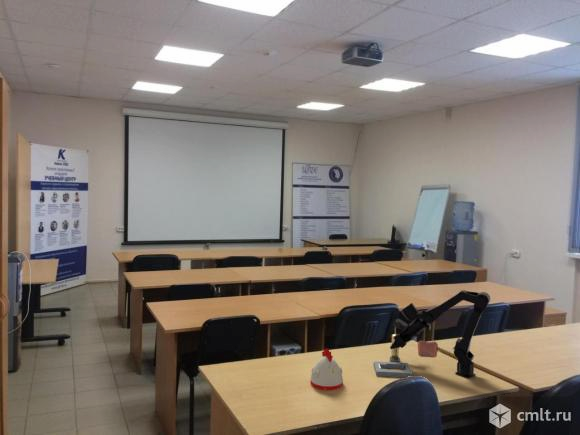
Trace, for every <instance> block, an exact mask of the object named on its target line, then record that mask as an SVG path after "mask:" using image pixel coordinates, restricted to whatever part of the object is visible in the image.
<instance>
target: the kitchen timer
mask: <svg viewBox="0 0 580 435" xmlns="http://www.w3.org/2000/svg"><path fill="white" fill-rule="evenodd" d="M321 355H322V357H320V358H319V359H318V360H317V361H316V363H315V364H314V366H313V367H311V375H310V385H311V386H312V387H313V388H314V389H317V388H318V389H317V390H321V391H336V390H338V389H341V388H342V387H343V386H344V385H343V384H344V379H343V368H342V367H341V366H340V365H339V364H338V362H337V360H335V358H333V357H334V355H332V351H330V349H328V348H325V349H324V350H323V351H321Z"/></svg>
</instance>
